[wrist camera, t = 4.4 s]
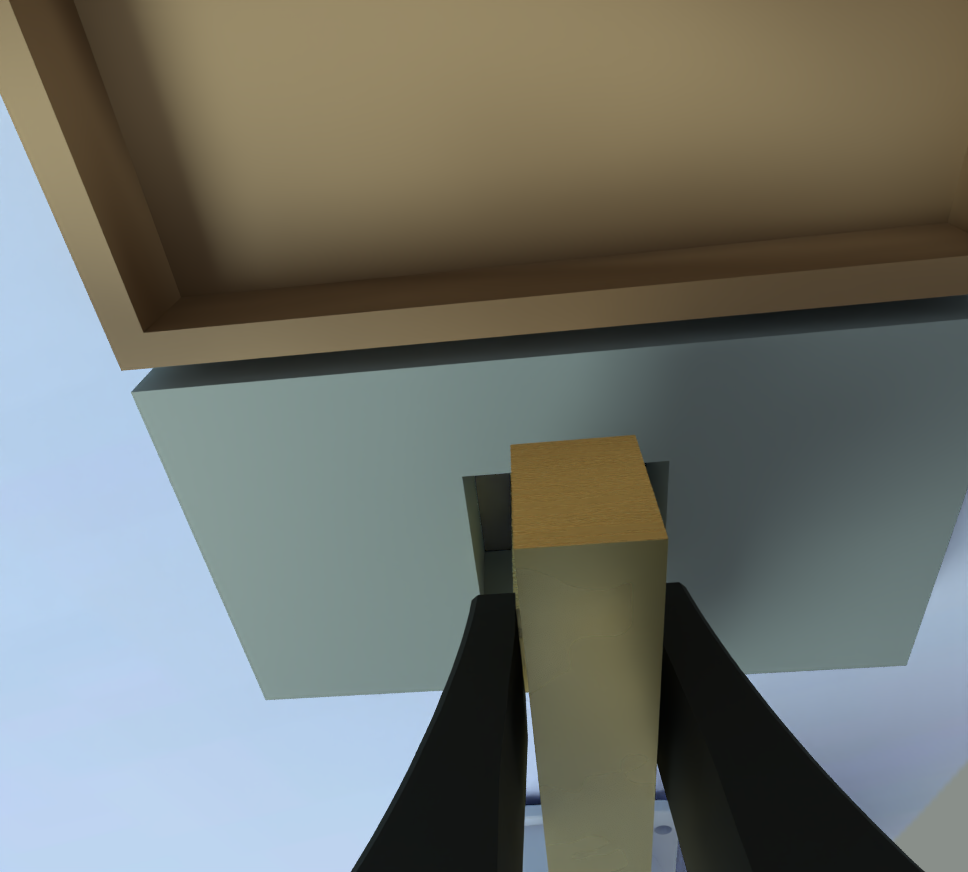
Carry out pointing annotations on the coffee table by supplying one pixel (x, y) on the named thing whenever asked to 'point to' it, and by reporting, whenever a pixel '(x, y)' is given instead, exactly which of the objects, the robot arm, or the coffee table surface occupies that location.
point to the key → (591, 643)
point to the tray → (487, 163)
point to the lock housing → (569, 416)
